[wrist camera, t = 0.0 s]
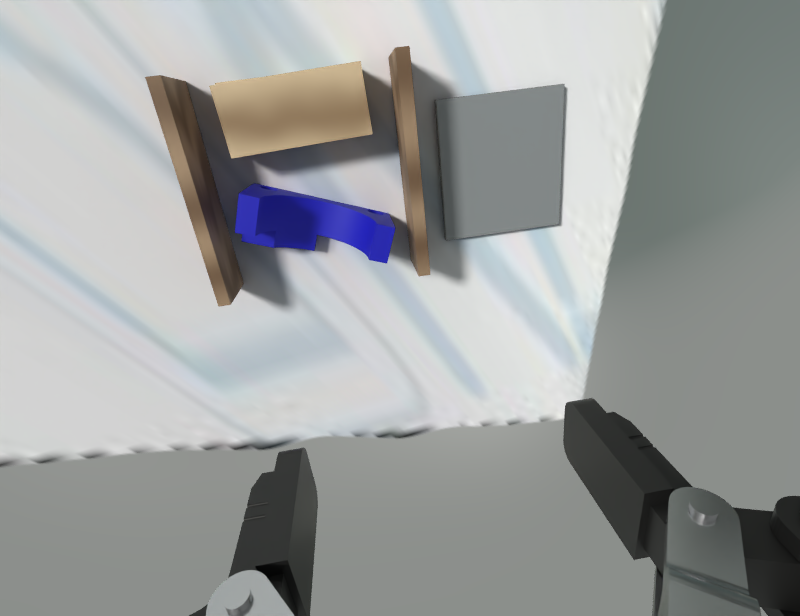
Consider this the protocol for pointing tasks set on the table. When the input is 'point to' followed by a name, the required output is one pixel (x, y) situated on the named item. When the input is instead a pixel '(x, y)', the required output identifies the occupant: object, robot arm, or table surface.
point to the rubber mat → (500, 160)
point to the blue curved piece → (310, 222)
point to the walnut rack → (204, 196)
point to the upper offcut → (293, 109)
